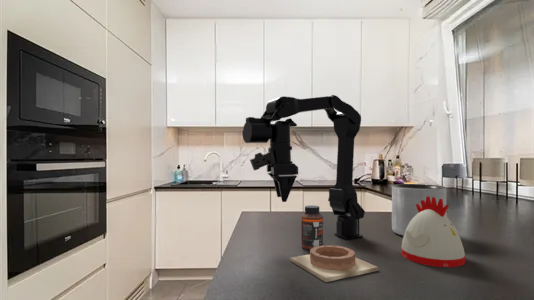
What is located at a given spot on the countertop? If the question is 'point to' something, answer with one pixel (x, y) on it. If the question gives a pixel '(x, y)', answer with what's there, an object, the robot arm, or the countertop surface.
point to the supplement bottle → (311, 227)
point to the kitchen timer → (432, 237)
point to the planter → (412, 202)
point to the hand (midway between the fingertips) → (281, 199)
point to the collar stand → (333, 263)
